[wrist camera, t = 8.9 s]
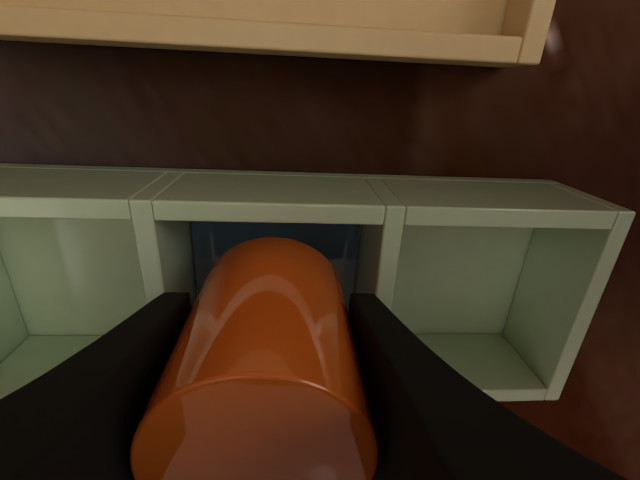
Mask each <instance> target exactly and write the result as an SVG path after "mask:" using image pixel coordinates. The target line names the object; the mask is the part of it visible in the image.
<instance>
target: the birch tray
mask: <svg viewBox="0 0 640 480" xmlns="http://www.w3.org/2000/svg"><path fill="white" fill-rule="evenodd" d="M555 2H556V0H0V40H8V41H27V42H45V43H63V44H82V45H100V46H118V47H137V48H155V49H173V50H192V51H210V52H228V53H247V54H265V55H283V56H302V57H320V58H338V59H357V60H375V61H393V62H412V63H430V64H448V65H467V66H485V67H503V68H504V67H517V66H531V65H538V64H539V63H540V60H541V56H542V53H543V49H544V45H545V41H546V37H547V33H548V29H549V25H550V22H551V18H552V14H553V10H554V6H555Z"/></svg>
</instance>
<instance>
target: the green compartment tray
mask: <svg viewBox="0 0 640 480" xmlns="http://www.w3.org/2000/svg"><path fill="white" fill-rule="evenodd" d="M635 215H636V212H634V211H632V210H629V209H627V208H624V207H622V206H619V205H616V204H614V203H611V202H608V201H606V200H603V199H601V198H598V197H595V196H593V195H590V194H587V193H585V192H582V191H580V190H577V189H574V188H572V187H569V186H566V185H564V184H560V183H558V182H556V181H553V180H541V179H508V178H475V177H442V176H409V175H376V174H342V173H309V172H276V171H243V170H210V169H177V168H144V167H110V166H77V165H44V164H11V163H0V399H1V398H3V397H5V396H7V395H8V394H10V393H12V392H14V391H16V390H17V389H19V388H21V387H23V386H24V385H26V384H28V383H29V382H31V381H33V380H35V379H36V378H38V377H40V376H41V375H43V374H44V373H46V372H48V371H49V370H51V369H53V368H54V367H56V366H57V365H59V364H60V363H62V362H63V361H65V360H66V359H68V358H69V357H71V356H72V355H74V354H76V353H77V352H79V351H80V350H82V349H83V348H85V347H86V346H88V345H89V344H91V343H92V342H94V341H96V340H97V339H98V338H100V337H101V336H103V335H104V334H106V333H107V332H108V331H110V330H111V329H113V328H114V327H115V326H117V325H118V324H120V323H121V322H123V321H124V320H125V319H127V318H128V317H130V316H131V315H132V314H134V313H135V312H136V311H138V310H139V309H141V308H142V307H143V306H145V305H146V304H148V303H149V302H150V301H152V300H153V299H155V298H156V297H158V296H159V295H161V294H162V293H164V292H190V301H191V309H192V307H193V304H194V302H195V300H196V298H197V296H198V294H199V291H200V289H201V287H202V285H203V283H204V280H205V278H206V276H207V274H208V272H209V270H210V268H211V267H212V266H213V264H214V263H215V262H216V260H217V259H218V258H219V257H220V256H221V255H223V254H224V253H225V252H226V251H228V250H229V249H231V248H232V247H234V246H236V245H238V244H240V243H243V242H245V241H249V240H252V239H257V238H263V237H281V238H288V239H293V240H296V241H299V242H302V243H304V244H306V245H308V246H311V247H312V248H314V249H315V250H317V251H319V252H320V253H321V254H322V255H323V256H325V257H326V258H327V259H328V261H329V262H330V263H331V264H332V265H333V267H334V268H335V270H336V271H337V273H338V275H339V278H340V280H341V284H342V287H343V292H344V296H345V300H346V305H347V309H348V312H349V301H350V293H374V294H375V295H376V296H377V297H378V298H379V299H380V300H381V301H382V302H383V303H384V304H385V305H386V306H387V308H388V309H389V310H390V311H391V312H392V313H393V314H394V315H395V316H396V317H397V318H398V319H399V320H400V321H401V322H402V323H403V324H404V325H405V326H406V327H407V328H408V329H409V330H410V331H412V332H413V333H414V334H415V335H416V336H417V337H418V338H419V339H420V340H421V341H422V342H423V343H424V344H425V345H427V346H428V347H429V348H430V349H431V350H432V351H433V352H434V353H436V354H437V355H438V356H439V357H440V358H441V359H443V360H444V361H445V362H446V363H447V364H449V365H450V366H451V367H452V368H453V369H455V370H456V371H457V372H458V373H459V374H461V375H462V376H463V377H465V378H466V379H467V380H468V381H470V382H471V383H472V384H474V385H475V386H477V387H478V388H479V389H481V390H482V391H483V392H485V393H486V394H488V395H489V396H490V397H492V398H493V399H495V400H496V401H539V400H558V399H559V397H560V395H561V392H562V390H563V387H564V385H565V383H566V380H567V378H568V375H569V373H570V371H571V368H572V366H573V363H574V361H575V359H576V356H577V354H578V351H579V349H580V347H581V344H582V342H583V339H584V337H585V335H586V332H587V330H588V327H589V325H590V323H591V320H592V318H593V315H594V313H595V311H596V308H597V306H598V303H599V301H600V299H601V296H602V294H603V291H604V289H605V287H606V284H607V282H608V279H609V277H610V275H611V272H612V270H613V267H614V265H615V263H616V260H617V258H618V255H619V253H620V251H621V248H622V246H623V243H624V241H625V239H626V236H627V234H628V231H629V229H630V227H631V224H632V222H633V219H634V217H635Z"/></svg>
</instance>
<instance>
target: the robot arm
mask: <svg viewBox="0 0 640 480" xmlns="http://www.w3.org/2000/svg"><path fill="white" fill-rule="evenodd" d="M190 311H191V301H190V292H164V293H162V294H161V295H159V296H158V297H156V298H155V299H153V300H152V301H150V302H149V303H148V304H146V305H145V306H143V307H142V308H141V309H139V310H138V311H136V312H135V313H134V314H132V315H131V316H130V317H128V318H127V319H125V320H124V321H123V322H121V323H120V324H118V325H117V326H115V327H114V328H113V329H111V330H110V331H108V332H107V333H106V334H104V335H103V336H101V337H100V338H98V339H97V340H96V341H94V342H92V343H91V344H89V345H88V346H86V347H85V348H83V349H82V350H80V351H79V352H77V353H76V354H74V355H72V356H71V357H69V358H68V359H66V360H65V361H63V362H62V363H60V364H59V365H57V366H56V367H54V368H53V369H51V370H49V371H48V372H46V373H44V374H43V375H41V376H40V377H38V378H36V379H35V380H33V381H31V382H29V383H28V384H26V385H24V386H23V387H21V388H19V389H17V390H16V391H14V392H12V393H10V394H8V395H7V396H5V397H3V398H1V399H0V480H134V478H133V475H132V472H131V466H130V446H131V442H132V438H133V435H134V432H135V430H136V428H137V426H138V424H139V421H140V419H141V417H142V415H143V413H144V411H145V408H146V406H147V404H148V402H149V400H150V398H151V395H152V393H153V391H154V389H155V387H156V385H157V382H158V380H159V378H160V376H161V374H162V372H163V369H164V367H165V365H166V363H167V361H168V359H169V356H170V354H171V352H172V350H173V348H174V346H175V343H176V341H177V339H178V337H179V335H180V333H181V330H182V328H183V326H184V324H185V322H186V320H187V317H188V315H189V313H190ZM348 314H349V318H350V322H351V327H352V331H353V336H354V340H355V344H356V349H357V353H358V358H359V362H360V367H361V371H362V375H363V380H364V384H365V389H366V393H367V397H368V402H369V406H370V411H371V415H372V420H373V424H374V428H375V433H376V437H377V443H378V462H377V467H376V471H375V474H374V477H373V479H372V480H627V479H625V478H623V477H622V476H620V475H618V474H616V473H614V472H612V471H611V470H609V469H607V468H605V467H603V466H601V465H600V464H598V463H596V462H594V461H592V460H590V459H589V458H587V457H585V456H583V455H582V454H580V453H578V452H577V451H575V450H573V449H571V448H570V447H568V446H566V445H565V444H563V443H561V442H559V441H558V440H556V439H554V438H553V437H551V436H550V435H548V434H546V433H545V432H543V431H542V430H540V429H539V428H537V427H535V426H534V425H532V424H531V423H529V422H527V421H526V420H524V419H523V418H521V417H519V416H518V415H516V414H515V413H513V412H512V411H510V410H509V409H507V408H506V407H504V406H503V405H502V404H500V403H499V402H497V401H496V400H495V399H493V398H492V397H490V396H489V395H488V394H486V393H485V392H483V391H482V390H481V389H479V388H478V387H477V386H475V385H474V384H472V383H471V382H470V381H468V380H467V379H466V378H465V377H463V376H462V375H461V374H459V373H458V372H457V371H456V370H455V369H453V368H452V367H451V366H450V365H449V364H447V363H446V362H445V361H444V360H443V359H441V358H440V357H439V356H438V355H437V354H436V353H434V352H433V351H432V350H431V349H430V348H429V347H428V346H427V345H425V344H424V343H423V342H422V341H421V340H420V339H419V338H418V337H417V336H416V335H415V334H414V333H413V332H412V331H410V330H409V329H408V328H407V327H406V326H405V325H404V324H403V323H402V322H401V321H400V320H399V319H398V318H397V317H396V316H395V315H394V314H393V313H392V312H391V311H390V310H389V309H388V308H387V306H386V305H385V304H384V303H383V302H382V301H381V300H380V299H379V298H378V297H377V296H376V295H375V294H374V293H350V301H349V312H348Z"/></svg>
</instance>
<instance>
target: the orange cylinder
mask: <svg viewBox="0 0 640 480" xmlns="http://www.w3.org/2000/svg"><path fill="white" fill-rule="evenodd" d="M377 462H378V443H377V437H376V433H375V428H374V424H373V420H372V415H371V411H370V406H369V402H368V397H367V393H366V389H365V384H364V380H363V375H362V371H361V367H360V362H359V358H358V353H357V349H356V344H355V340H354V336H353V331H352V327H351V322H350V318H349V314H348V309H347V305H346V300H345V296H344V292H343V287H342V284H341V280H340V278H339V275H338V273H337V271H336V270H335V268H334V267H333V265H332V264H331V263H330V262H329V261H328V259H327V258H326V257H325V256H323V255H322V254H321V253H320V252H319V251H317V250H315V249H314V248H312V247H311V246H308V245H306V244H304V243H302V242H299V241H296V240H293V239H288V238H281V237H263V238H257V239H252V240H249V241H245V242H243V243H240V244H238V245H236V246H234V247H232V248H231V249H229V250H228V251H226V252H225V253H224V254H223V255H221V256H220V257H219V258H218V259H217V260H216V262H215V263H214V264H213V266H212V267H211V268H210V270H209V272H208V274H207V276H206V278H205V280H204V283H203V285H202V287H201V289H200V291H199V294H198V296H197V298H196V300H195V302H194V304H193V307H192V309H191V311H190V313H189V315H188V317H187V320H186V322H185V324H184V326H183V328H182V330H181V333H180V335H179V337H178V339H177V341H176V343H175V346H174V348H173V350H172V352H171V354H170V356H169V359H168V361H167V363H166V365H165V367H164V369H163V372H162V374H161V376H160V378H159V380H158V382H157V385H156V387H155V389H154V391H153V393H152V395H151V398H150V400H149V402H148V404H147V406H146V408H145V411H144V413H143V415H142V417H141V419H140V421H139V424H138V426H137V428H136V430H135V432H134V435H133V438H132V442H131V446H130V466H131V472H132V475H133V478H134V480H372V479H373V477H374V474H375V471H376V467H377Z"/></svg>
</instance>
